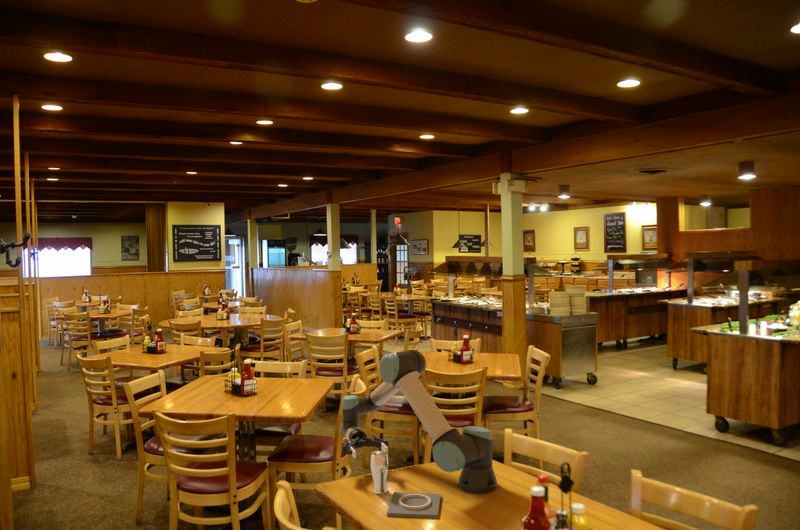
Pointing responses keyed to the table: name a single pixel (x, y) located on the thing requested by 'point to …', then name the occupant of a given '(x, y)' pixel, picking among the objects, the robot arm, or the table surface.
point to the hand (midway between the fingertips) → (371, 453)
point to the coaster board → (414, 505)
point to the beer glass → (379, 471)
